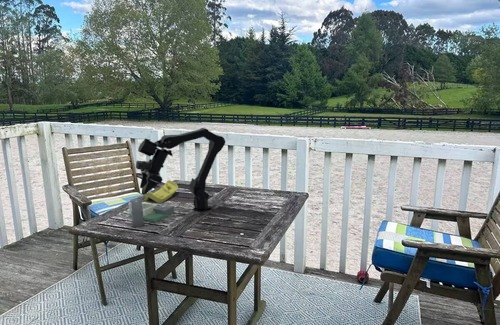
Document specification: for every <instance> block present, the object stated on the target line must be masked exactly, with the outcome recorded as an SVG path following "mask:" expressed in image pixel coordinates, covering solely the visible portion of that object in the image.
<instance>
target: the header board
mask: <svg viewBox="0 0 500 325" xmlns="http://www.w3.org/2000/svg"><path fill="white" fill-rule="evenodd" d="M142 208H143V219H144V221H148V222H152V223H157V222H159V221H160V220H162V219H164V218H166V217H167V216H170V215H172V214H174V213H175V206H174V205H169V204H162V203H161V204H160V205H158V204H156V203H152V202H151V203H150V202H147V201H146V202H143V201H142ZM128 216H129V217H130V218H132V215H131V213H129V215H128Z"/></svg>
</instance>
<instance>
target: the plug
mask: <svg viewBox="0 0 500 325" xmlns="http://www.w3.org/2000/svg"><path fill="white" fill-rule="evenodd" d="M142 203H143V199H142V198H132V199H130V201H129V202H128V211H129V212H130V214H131V215H132V217H131V223H132V227H133V228H141V227H143V226H144V225H145V223H144V222H145V220H144V219H143V208H142Z"/></svg>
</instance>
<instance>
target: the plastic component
mask: <svg viewBox="0 0 500 325" xmlns="http://www.w3.org/2000/svg"><path fill="white" fill-rule="evenodd" d="M178 189H179V186H178V184H177V183H175V182H174V181H172V180H170V179H169V180H167V181H166V182H165V183H164V184H163V185H162V187H160V189H158V190H156V191H155V192H150V191H149V192H147V193H146V195H145V197H144V201H146V202H148V201H149V200H152V201H154V202H156V203H159V204H162V203H164V202H165V201H167V200H169V199H170V198H171V197H173V195H174V194H175V193H176V192H177V191H178Z"/></svg>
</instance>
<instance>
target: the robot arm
mask: <svg viewBox="0 0 500 325" xmlns="http://www.w3.org/2000/svg"><path fill="white" fill-rule="evenodd" d="M201 138H204V139H206V140H207V141H209V142H208V150H207V153H206V156H205V158H204V159H203V162H202V164H201V168H200V170H199V171H198V174H197V176H196V177H195V178H193V177H192V178H191V180H190V183H189V184H188V186H189V187H188V190H189V192H190V193H191V195H193V208H192V210H193V211H198V212H205V211H207V210H208V209H211V208H210V207H211V206H210V205H209V197H210V194H209V193H208V192H206V187H207V186H206V184H207V178H208V177H209V174H210V171H211V169H212V167H213V165H214V162H215V160H216V157H217V155H218V154H219V153H220V152H221V151H222V149H223V148H224V146H225V145H226V139H225V138H224V136H222V135H219V134H215V133H214V132H211V131H210V130H209V129H207V128H205V127H201V128H199V129H194V130H191V131H187V132H183V133H180V134H166V135H162V136H161V138H160V139H159V140H156V141H154V142H153V141H151V140H150V139H148V138H146V137H145V138H144V139H143V141H142V142H141V143H140V144H139V146H138V148H137V151H138V152H139V153H141V154H144V155H145V156H147V157H151V156H152V158H151V159H149V160H148V161H145V160H136V162H135V168H136V169H137V170H140V173H141V181H140V186H139V189H143V188H144V191H143V193H144V194H147V193H148V192H150V191H152V189H154V188H156V187H157V186H158V185H160V184H162V182H163V177H162V176H161V175H160V171H161V169H162V168H164V167H165V165H164V164H165V161H166V160H167V158H168V156H171V157H173V153H172V149H174V148H177V147H178V146H179V145H180V144H182V143H187V142H190V141H194V140H197V139H201Z"/></svg>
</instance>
